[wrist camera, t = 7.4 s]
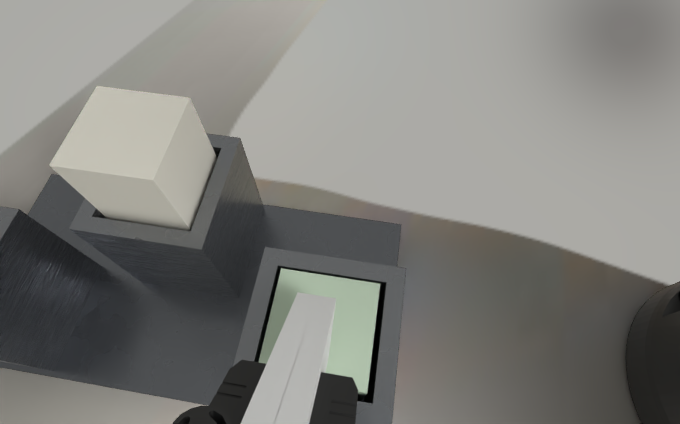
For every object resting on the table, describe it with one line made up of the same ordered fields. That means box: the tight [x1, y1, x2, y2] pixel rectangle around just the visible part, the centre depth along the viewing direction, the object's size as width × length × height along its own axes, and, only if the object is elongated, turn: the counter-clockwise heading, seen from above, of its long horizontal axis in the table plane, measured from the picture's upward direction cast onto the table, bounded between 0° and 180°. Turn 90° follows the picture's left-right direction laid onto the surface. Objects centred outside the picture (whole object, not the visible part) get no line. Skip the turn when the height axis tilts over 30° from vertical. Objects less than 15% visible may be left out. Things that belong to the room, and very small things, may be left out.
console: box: [0, 134, 406, 424], centre depth 24 cm, size 26×13×10 cm, turn 81°
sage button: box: [259, 268, 380, 402], centre depth 21 cm, size 4×4×8 cm
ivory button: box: [49, 86, 217, 232], centre depth 21 cm, size 4×4×8 cm
